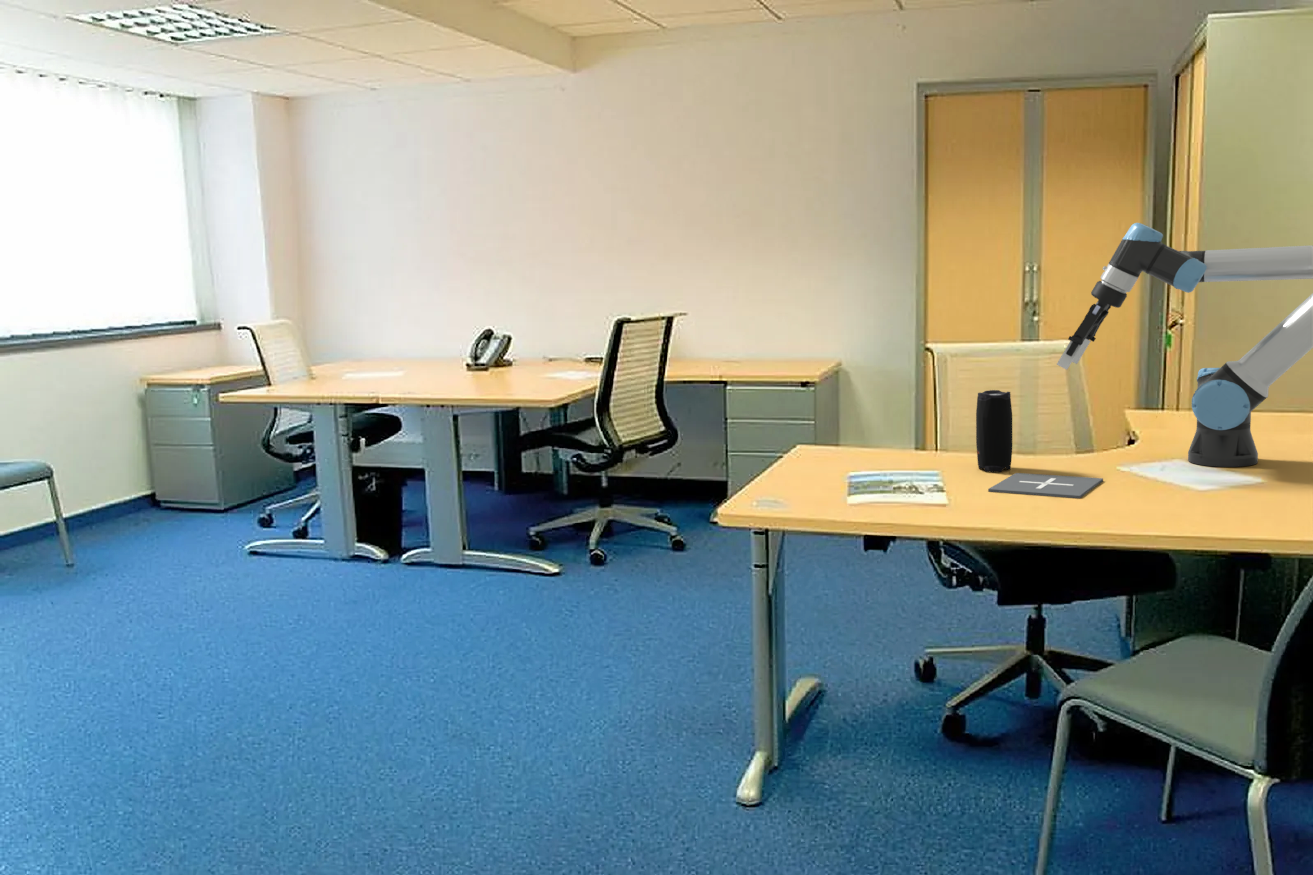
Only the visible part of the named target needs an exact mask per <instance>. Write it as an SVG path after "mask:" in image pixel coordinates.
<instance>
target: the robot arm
mask: <svg viewBox="0 0 1313 875" xmlns="http://www.w3.org/2000/svg"><path fill="white" fill-rule="evenodd" d="M1163 238H1164V234H1163V233H1162V232H1160V231H1159V230H1156V229H1154V228H1152V227H1150V226H1147V225H1145V224H1143V223H1141V222H1135V223H1133V224H1131V226H1130V227H1129V228H1128V230H1127V231H1126V234H1125V235H1124V236H1123V237H1122V239H1121V240H1120V243H1119V244H1118V246H1117V248H1116V250H1115V252H1114V253H1113V255H1112V257H1111V259H1110V260H1109V262H1108V263H1107V265H1103V267H1102V270H1103V272H1102V273H1101V275H1100V279H1101V280H1098V281H1097V282H1096V283H1095V285H1094V287H1093V289H1092V290H1091V291H1090V292H1091V293H1090V294H1091V296H1092V297H1093V298H1095V299H1097V302H1096V303H1092V304H1091V306H1090V307H1089V309H1088V311H1087V313H1086V315H1085V316H1084V318H1083V319H1082V321H1081V323H1080V324H1079V326H1078V327H1077V329H1076V330H1075V332H1074V334H1073V335H1071V336H1070V335H1069V337H1068V339H1067V340H1069V343H1068V344H1067V346H1066V348H1065V349H1064V352H1063V353H1062V354H1061V357H1060V358H1059V359H1058V361H1057V363H1056V365H1057V366H1059V367H1060V368H1062V369H1064V370H1066V371H1068V369H1069V367H1070V366H1071V364H1072V363H1074V364H1075V365H1077V364H1078V363H1079V361H1080V360H1081V358H1082V357H1083V355H1084V353H1085V352H1086V350H1087V348H1088V347H1089V345H1090V343H1091V342H1095V340H1096V334H1097V333H1098V330H1099V328H1100V327H1101V325H1102V323H1103V322H1104V320H1105V318H1106V317H1107V316H1108V315H1109V310H1110V309H1111V307H1114V308H1121V307H1122V305H1123V304H1124V301H1125V300H1126V298H1128V294H1127V293H1130V292H1131V291H1132V289H1133V287H1134V286H1135V284H1136V283H1137V281H1138V279H1139V277H1140V275H1141V274H1142V272H1143V273H1145V274H1147V275H1150V276H1152V277H1154V278H1155V279H1158V280H1160V281H1161V282H1163V283H1166V284H1167V285H1169V286H1172V287H1174V288H1175V289H1176V290H1179V291H1182V292H1185V293H1192V292H1193V291H1194V290H1195V288H1196V287H1197V285H1198V284H1199V283H1211V282H1212V283H1217V282H1219V283H1220V282H1248V281H1281V280H1313V245H1292V246H1291V245H1290V246H1271V247H1250V248H1231V249H1230V248H1228V249H1227V248H1226V249H1208V250H1190V251H1189V250H1177V249H1175V248H1173V247H1171V246H1168V245H1166V244H1165V243H1163V242H1162V239H1163ZM1312 349H1313V292H1312V293H1311V294H1310V295H1309V296H1308V297H1306V299H1304V301H1302V302H1301V303H1300V304H1299V305H1298V306H1297V307H1295V309H1293V310H1292V311H1291V312H1290V313H1289V314H1288V315H1287V316H1286V317H1284V319H1283V320H1281V321H1280V322H1279V323H1278V324H1277V325H1276V326H1274V328H1272V330H1271V331H1269V332H1268V333H1266V335H1265V336H1264V337H1263V338H1262V339H1260V340H1259V341H1258V342H1257V343H1256V344H1255V345H1254V346H1253V347H1252V348H1251V349H1250V350H1248V351H1247V352H1246V353H1245V354H1244V355H1243V356H1242V357H1241V358H1240V359H1239V360H1230V361H1226V362H1225V363H1224V364H1223V365H1222V366H1221V367H1203V368H1200V369H1199V370H1198V372H1197V377H1196V382H1197V388H1196V389H1195V391H1194V393H1193V395H1192V397H1191V409H1192V413H1193V415H1194V416H1195V418H1196V430H1195V433H1194V436H1193V439H1192V441H1191V444H1190V447H1189V449H1188V452H1187V461H1188V462H1189V463H1192V464H1195V465H1200V466H1206V467H1207V466H1208V467H1218V468H1219V467H1221V468H1223V467H1224V468H1225V467H1226V468H1236V467H1248V466H1254V465H1256V464H1258V462H1259V459H1258V458H1259V452H1258V449H1257V447H1256V444H1255V441H1254V437H1253V435H1252V432H1251V430H1252V429H1251V422H1252V421H1251V420H1252V418H1251V417H1252V411H1253V410H1255V409H1256V408H1257V407H1258V406H1260V404H1262V402H1264V401H1265V400H1266V399H1267V398H1268V397H1269V389H1270V386H1271V385H1272V384H1274V383H1275V382H1276V381H1277V380H1278V379H1279V378H1280V377H1281V376H1283V375H1284V374H1285V373H1286V372H1287V371H1288V370H1289V369H1291V368H1292V367H1293V366H1294V365H1295V364H1296V363H1297V362H1298V361H1300V360H1301V359H1302V358H1303V357H1305V355H1307V353H1308V352H1310V351H1311V350H1312Z"/></svg>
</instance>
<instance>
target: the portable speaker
mask: <svg viewBox="0 0 1313 875" xmlns="http://www.w3.org/2000/svg"><path fill="white" fill-rule="evenodd" d="M1011 397H1012V396H1011V391H1001V390H998V389H997V390H996V389H994V390H993V389H992V390H991V389H989V390H984V391H983V392H977V398H976V401H977V402H976V411H975V412H976V413H975V419H976V420H975V423H976V424H975V425H976V426H975V430H976V432H975V433H976V434H975V436H976V437H975V441H976V443H975V444H976V445H975V446H976V456H977V457H976V458H977V465H978V470H982V469H983V470H984V471H985V472H986V473H1001V472H1002V471H1003V470H1005V469H1007V470H1011V468H1012V459H1013V456H1012V455H1013V410H1012V408H1013V407H1012V398H1011Z"/></svg>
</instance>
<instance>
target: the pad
mask: <svg viewBox="0 0 1313 875" xmlns="http://www.w3.org/2000/svg"><path fill="white" fill-rule="evenodd" d="M1103 481H1104V478H1103V477H1090V476H1089V477H1088V476H1086V477H1085V476H1071V475H1056V474H1040V473H1039V474H1038V473H1027V472H1026V473H1025V472H1024V473H1023V472H1014V474H1011V475H1009V476H1008V477H1007V478H1005V479H1003V480H1001V481H1000V482H998V483H996V484H994V485H993V486H991V487H989V488H987V489H988V490H987V492H991V493H1000V494H1002V493H1003V494H1016V495H1029V496H1040V497H1041V496H1043V497H1055V498H1068V499H1081V498H1083V497H1084V496H1085V495H1086V494H1088V493H1089V492H1091V491H1092V490H1093V489H1094V488H1095V487H1097V486H1098V485H1100V484H1101V483H1102V482H1103Z"/></svg>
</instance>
